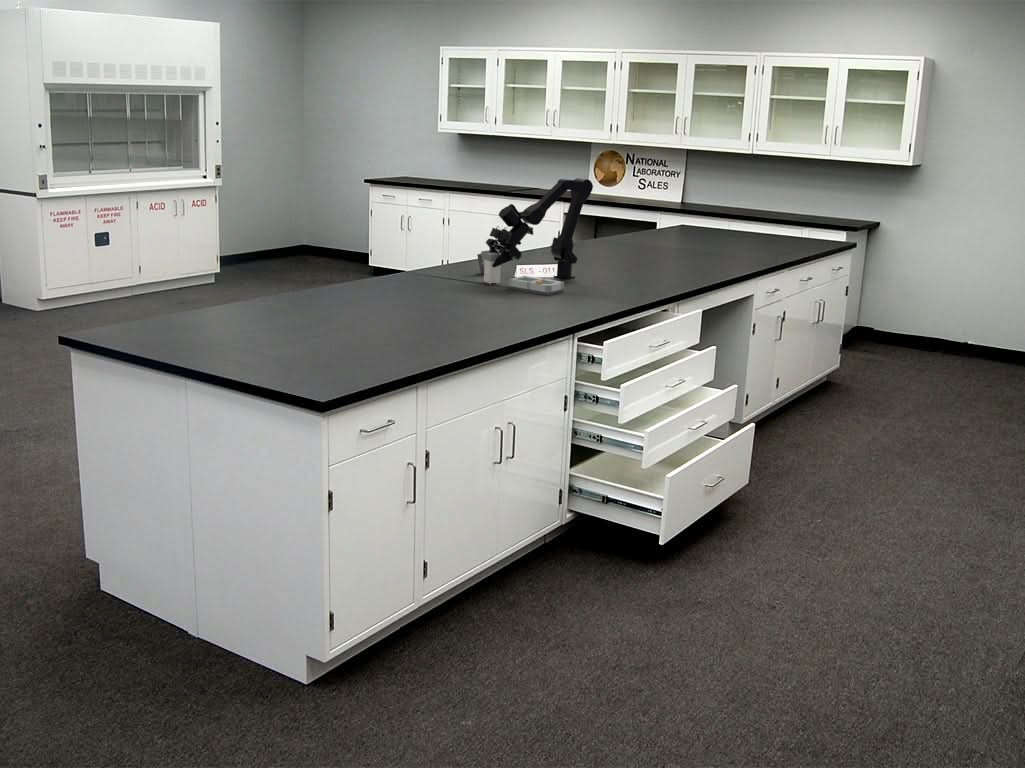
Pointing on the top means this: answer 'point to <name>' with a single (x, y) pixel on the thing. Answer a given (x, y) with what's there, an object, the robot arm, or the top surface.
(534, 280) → the white rectangular frame
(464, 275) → the top surface
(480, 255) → the electrical switch
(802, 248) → the top surface
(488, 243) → the robot arm
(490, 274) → the grey tall block
